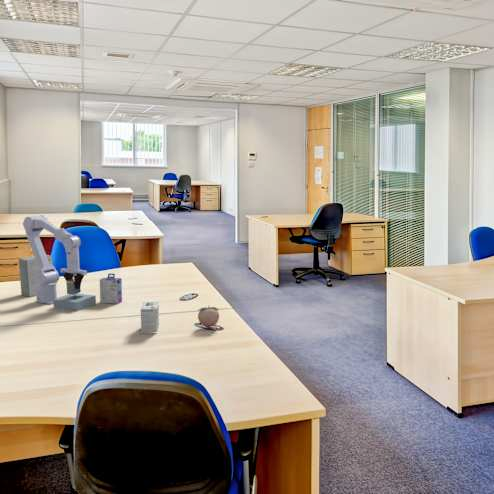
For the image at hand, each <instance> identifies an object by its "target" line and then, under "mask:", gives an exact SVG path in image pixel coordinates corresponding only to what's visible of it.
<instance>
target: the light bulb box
mask: <svg viewBox="0 0 494 494" xmlns="http://www.w3.org/2000/svg"><path fill="white" fill-rule="evenodd" d="M159 306H160V305H159V301H158V302H157V301H154V302H150V301H148V302H143V303H142V306H141V308H140V328H141V329H140V334H141V333H150V332H151V333H150V334H153V333H152V332H157V333H158V329H159V327H158V326H160V318H159V317H160V314H159V313H160V312H159V311H160V310H159V309H160V308H159Z"/></svg>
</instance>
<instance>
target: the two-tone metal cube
mask: <svg viewBox="0 0 494 494" xmlns="http://www.w3.org/2000/svg"><path fill="white" fill-rule="evenodd" d="M65 281H66V280H65ZM77 293H78V294H81V287H80V288H79V289H76V284H75V279H74V278H73V279H71V280H68V281H66V295H68V294H73V295H74V294H77Z"/></svg>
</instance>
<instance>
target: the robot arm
mask: <svg viewBox="0 0 494 494" xmlns="http://www.w3.org/2000/svg"><path fill="white" fill-rule="evenodd" d="M22 225H23V229H24V231H25V235H26V238H27V240H28V243H29V246H30V249H31V251H32V253H33V256H34V257H35V259H36V262H37V265H38V267H39V268H38V270H37V272H36V275H37V281H38V283H39V285H38V286H37V288H36V300H35V303H41V304H49V305H50V304H54V302H53V299H56V298H58V294H57V293H58V292H57V285H58V282H59V280H60V274H59V272H58V270H56V267H55V266H54V265H53V266H52V265H50V264H49V261H48V258H47V256H46V255H47V253H46V251H45V248H44V246H43V243H42V240H41V238H40V234H41V233H42V231H43V230H46V232H49V233H50V234H52V235H53V238H54V239H55V240H57V241H58V242H60V243H62V245H63V247H64V249H65V250H64V251H65V253H66V268H64V267H63V268H60V273H62V274H63V275H62V276H63V279H65V281H68V280H71V279H75V284H76V289H79V288H80V289H81V286H82V285H81V284H82V281H83V278H84V276H86V275H88V271H87V270H84V269H81V268H80V249H79V248H80V246H81V245H82V241H81V238H80V237H79V236H78V235H73V234H72V233H70V232H68V231H66V229H65V228H63V227H62V228H58V227H57V226H55V225H54V223H51V222H50V221H49V220H48V218H47V217H45V215H43V214H39V215H33V216H26V217H25V218H24V219H23V223H22Z"/></svg>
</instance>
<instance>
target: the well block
mask: <svg viewBox="0 0 494 494" xmlns="http://www.w3.org/2000/svg"><path fill="white" fill-rule="evenodd" d="M96 297H97V296H96V295H91V294H85V293H77V294H74V295H73V294H66V295H63V296H60V297H57V298H56V299H53V302H54V303H53V308H54V309H60V310H67V311H74V312H78V311H80V310H83V309H86V308H89V307H91V306H94V305H96V304H97V303H96V301H97V300H96V299H97V298H96Z"/></svg>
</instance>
